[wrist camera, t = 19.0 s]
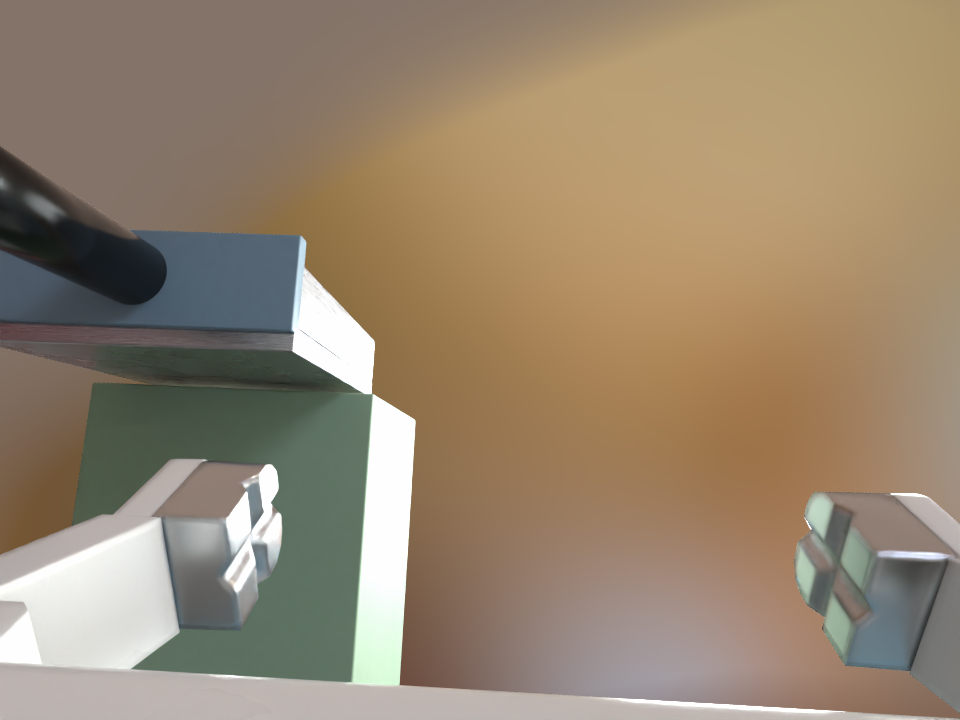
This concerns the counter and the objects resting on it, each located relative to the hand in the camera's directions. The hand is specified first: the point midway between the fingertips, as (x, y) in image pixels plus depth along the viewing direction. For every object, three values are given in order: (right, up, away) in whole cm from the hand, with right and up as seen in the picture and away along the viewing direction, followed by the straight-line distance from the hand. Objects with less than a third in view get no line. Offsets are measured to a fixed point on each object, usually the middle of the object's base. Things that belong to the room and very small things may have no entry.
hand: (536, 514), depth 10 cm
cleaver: (-11, +3, +10) cm, 15 cm away
